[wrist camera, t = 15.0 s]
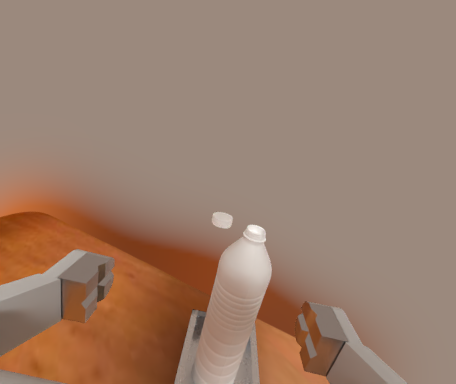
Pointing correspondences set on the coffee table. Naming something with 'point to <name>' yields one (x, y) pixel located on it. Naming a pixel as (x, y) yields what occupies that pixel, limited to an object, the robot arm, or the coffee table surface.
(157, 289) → the coffee table surface
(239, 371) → the keeper cradle
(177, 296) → the coffee table surface
